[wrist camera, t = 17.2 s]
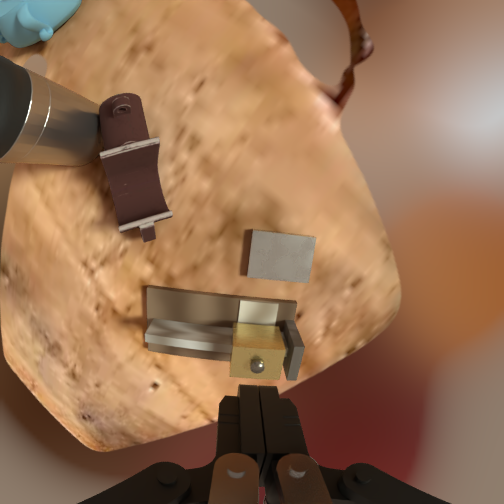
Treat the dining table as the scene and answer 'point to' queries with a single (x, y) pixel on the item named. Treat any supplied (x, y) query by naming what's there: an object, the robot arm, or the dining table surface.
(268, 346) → the block with knob
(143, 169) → the bracket
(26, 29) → the decorative pot
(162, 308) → the rail
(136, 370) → the dining table surface
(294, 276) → the gray metal plate
